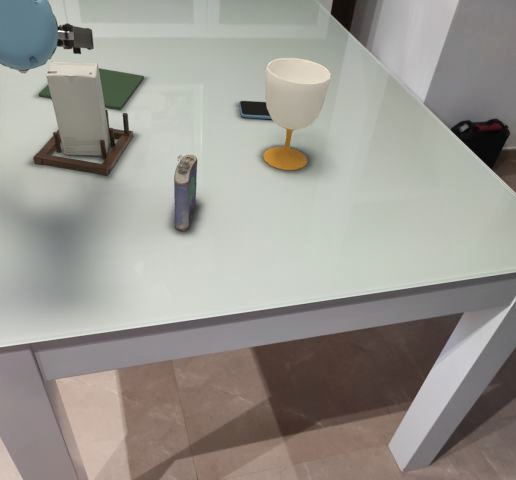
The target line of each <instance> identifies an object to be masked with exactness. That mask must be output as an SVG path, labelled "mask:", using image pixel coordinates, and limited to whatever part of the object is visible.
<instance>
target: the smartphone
mask: <svg viewBox="0 0 516 480" xmlns="http://www.w3.org/2000/svg"><path fill="white" fill-rule="evenodd" d="M238 106H239V112H240V116H241V117H242V118H245V119H246V118H247V119H265V120H266V119H267V120H272V118H271V116H270V114H269V112H268V109H267V106H266V101H257V100H255V101H253V100H240V101H239V103H238Z"/></svg>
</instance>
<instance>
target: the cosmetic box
mask: <svg viewBox="0 0 516 480" xmlns="http://www.w3.org/2000/svg"><path fill="white" fill-rule="evenodd" d="M99 68H100V67H99V63H98V62H74V61H73V62H72V61H71V62H70V61H52V60H51V62H50V65H49V67H48V70H47V73H46V76H45V77H46V81H47V85H49V89H50V94H51V98H50V99H51V102H52V106H53V111H54V114H55V119H56V123H57V129H59V133H60V137H61V141H62V142H61V146H62V150H63V154H64V155H65V156H95V157H96V156H97V157H99V156H100V157H102V155H101V147H100V140H104V141H105V147H106V155H107V156H108V154H109V153H108V152H109V148H110V137H109V131H108V124H107V118H106V112H105V109H106V107H105V105H104V99H103V92H102V86H101V80H100V73H99Z"/></svg>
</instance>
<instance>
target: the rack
mask: <svg viewBox="0 0 516 480" xmlns="http://www.w3.org/2000/svg"><path fill="white" fill-rule="evenodd" d="M105 112H106V118H107V124H108V131H109V137H110V143H109V146H110V148H112V149H111V150H110V151H109V153H108V154H107V155H106V147H105V141H104V140H100V147H101V155H102V156H101V160H102V161H103V162H102V163H99V162H95V161H88V160H82V159H75V158H70V157H65V156H58V155H53V153H54V152H55V151H56V153H62V148H61V146H62V141H61V137H60V133H59V128H57V129H58V130H57V131H54V132H52V136H51V137H50V138H49V140H48V141H47V142H46V143H45V144H44V145H43V147H42V148H41V149H40V150H39V151H38V152H36V153H35V154H34V155H33V157H32V158H33V159H32V160H33V164H37V165H41V166H42V165H46V166H51V167H57V168H62V169H63V168H64V169H69V170H74V171H75V170H76V171H81V172H87V173H92V174H98V175H99V176H106V177H107V176H109V174H110V173H111V172H112V170H113V168H114V166H115V165H116V163H117V162H118V160H119V159H120V157H121V156H122V154H123V152H124V151H125V149H126V148H127V146H128V145H129V143H130V141H132V138H133V137H134V130H130V123H129V114H128V112H123V113H122V124H123V129H118V128H113V127H110V121H109V112H108V109H107V108H105ZM115 139H116V140H117V141H116V140H115Z"/></svg>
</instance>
